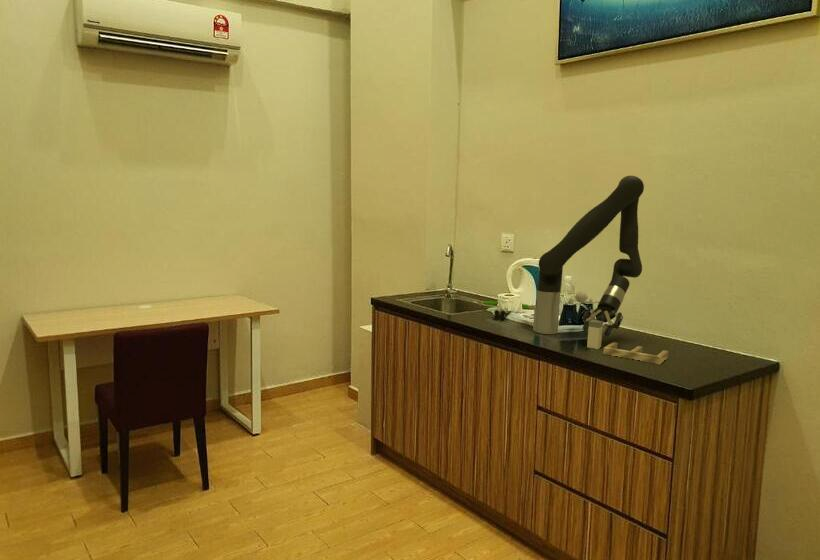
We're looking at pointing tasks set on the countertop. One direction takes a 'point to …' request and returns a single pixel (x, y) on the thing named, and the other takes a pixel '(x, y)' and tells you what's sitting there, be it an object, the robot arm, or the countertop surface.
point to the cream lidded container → (595, 334)
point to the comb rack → (635, 354)
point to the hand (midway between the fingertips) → (594, 333)
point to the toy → (581, 298)
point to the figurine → (502, 311)
